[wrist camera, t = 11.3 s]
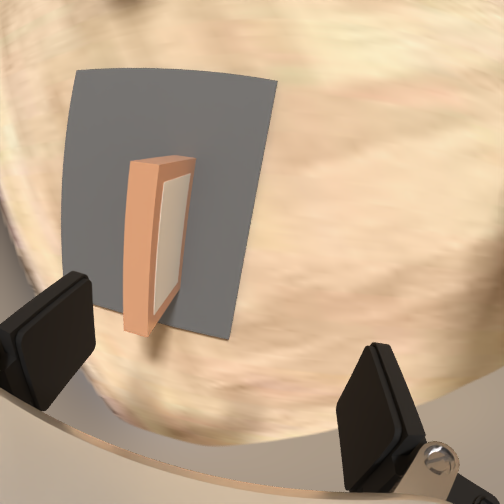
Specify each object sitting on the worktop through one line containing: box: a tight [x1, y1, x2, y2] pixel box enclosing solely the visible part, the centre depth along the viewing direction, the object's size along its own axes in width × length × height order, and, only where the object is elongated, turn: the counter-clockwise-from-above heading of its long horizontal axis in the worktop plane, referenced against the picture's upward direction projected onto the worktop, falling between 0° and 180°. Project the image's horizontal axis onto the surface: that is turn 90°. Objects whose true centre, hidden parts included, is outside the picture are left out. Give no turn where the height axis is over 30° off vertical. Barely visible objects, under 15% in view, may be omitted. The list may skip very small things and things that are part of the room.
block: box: [123, 155, 196, 337], centre depth 19 cm, size 10×2×7 cm, turn 170°
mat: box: [61, 68, 277, 340], centre depth 23 cm, size 20×16×1 cm
